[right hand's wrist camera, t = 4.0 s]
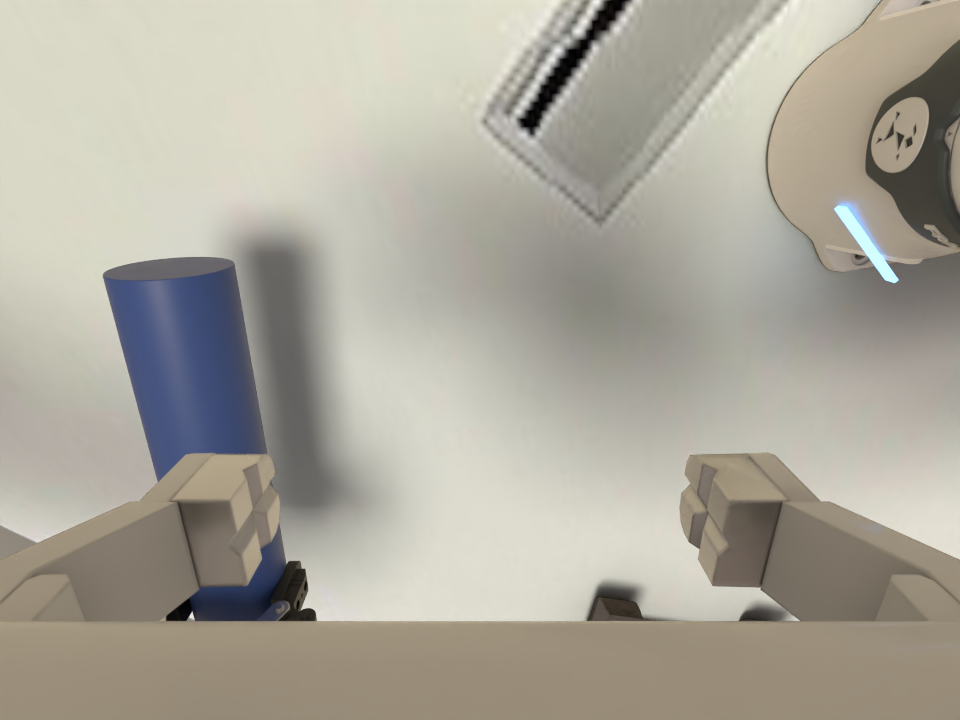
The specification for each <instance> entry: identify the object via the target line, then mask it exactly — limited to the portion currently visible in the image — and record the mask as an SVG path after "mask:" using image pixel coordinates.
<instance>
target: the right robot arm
mask: <svg viewBox="0 0 960 720" xmlns="http://www.w3.org/2000/svg"><path fill="white" fill-rule="evenodd" d="M920 5H921V6H920ZM768 175H769V181H770V186H771V189H772V192H773V195H774V198H775V200H776V202H777V204H778V206H779V207H780V209H781V211H782V212H783V213H784V215H785V216H786V217H787V218H788V220H789V221H790V222H791V223H792V224H794V225H795V226H796V227H797V228H799V229H800V230H801V231H802V232H804V233H805V234H806V235H807V236H808V237H809V238H810V239H811V240H812V241H813V243H814V246H815V249H816V251H817V253H818V256H819V258H820V260H821V262H822V263H823V265H824V266H825V267H826V268H827V269H829V270H832V271H838V272H847V271H853V270H858V269H863V268H869V267H874V266H875V267H876V268H877V269H878V271H879V272H880V274H881V275H882V276H883V278H884V279H885V280H886V281H890V282H893V283H895V282H897V281H898V278H897V277H896V275H895V274H894V273H893V271H892V270H891V268H890V267H889V266H888V264H890V263H896V262H900V263H905V264H919V263H921V261H922V260H923V259H927V258H935V257H940V256H945V255H949V254H953V253H958V252H960V0H882V1H881V3H880V4H879V5H878V6H877V7H876V9H875V10H874V11H873V12H872V14H871V15H870V16H869V17H868V19H867V20H866V21H865V23H864V24H863V25H862V26H861V27H860V28H859V29H858V30H856V31H855V32H854V33H852V34H851V35H850V36H848V37H847V38H845V39H843V40H842V41H840V42H839V43H837V44H836V45H834V46H833V47H831V48H830V49H829V50H827V51H826V52H825V53H823V54H822V55H821V56H820V57H819V58H817V59H816V60H815V61H814V62H813V63H812V64H811V65H810V66H809V67H808V68H807V69H806V70H805V71H804V73H803V74H802V75H801V76H800V77H799V79H798V80H797V81H796V83H795V84H794V85H793V87H792V88H791V90H790V92H789V93H788V95H787V96H786V98H785V100H784V102H783V104H782V106H781V108H780V110H779V112H778V115H777V117H776V120H775V123H774V126H773V129H772V133H771V137H770V142H769V149H768ZM855 254H858V256H857V257H855ZM274 475H275V470H274V465H273V460H272V458H271V457H270V456H269V455H268V454H234V453H217V454H216V453H191V454H186V455H185V456H184V457H183V458H182V459H181V460H180V461H179V462H178V463H177V464H176V465H175V466H174V467H173V468H172V469H171V470H170V471H169V472H168V473H167V474H166V475H165V476H164V477H163V478H162V479H161V480H160V481H159V482H158V483H157V484H156V485H155V486H154V487H153V488H152V489H151V490H150V491H149V492H148V493H147V494H146V495H145V496H144V497H143V498H142V499H141V500H140V501H139V502H128V503H126V504H124V505H122V506H120V507H117V508H115V509H113V510H111V511H108V512H106V513H104V514H102V515H99V516H97V517H95V518H93V519H90V520H88V521H86V522H84V523H81V524H79V525H77V526H75V527H72V528H70V529H68V530H66V531H63V532H61V533H59V534H57V535H55V536H52V537H50V538H48V539H46V540H43V541H41V542H39V543H37V544H34V545H32V546H30V547H28V548H25V549H23V550H21V551H19V552H16V553H14V554H12V555H10V556H7V557H5V558H3V559H1V560H0V720H960V560H959V559H957V558H954V557H952V556H950V555H948V554H946V553H943V552H941V551H939V550H937V549H934V548H932V547H930V546H928V545H925V544H923V543H921V542H919V541H916V540H914V539H912V538H910V537H908V536H905V535H903V534H901V533H899V532H896V531H894V530H892V529H890V528H887V527H885V526H883V525H881V524H878V523H876V522H874V521H872V520H870V519H867V518H865V517H863V516H861V515H858V514H856V513H854V512H852V511H849V510H847V509H845V508H843V507H840V506H838V505H836V504H834V503H832V502H821V501H820V500H819V499H818V498H817V497H816V496H815V495H814V494H813V493H812V492H811V491H810V490H809V489H808V488H807V487H806V486H805V485H804V484H803V483H802V482H801V481H800V480H799V479H798V478H797V477H796V476H795V475H794V474H793V473H792V472H791V471H790V470H789V469H788V468H787V467H786V466H785V465H784V464H783V463H782V462H781V461H780V460H779V459H778V458H777V457H776V456H775V455H773V454H771V453H745V454H706V455H690V457H689V459H688V461H687V464H686V469H685V475H686V477H687V478H688V480H689V482H690V483H691V484H690V485H689V486H688V487H687V488H686V489H685V490H684V491H683V492H682V493H681V501H680V519H681V525H682V528H683V531H684V534H685V536H686V538H687V540H688V541H689V542H690V543H691V544H693V545H694V546H696V547H697V548H699V549H700V550H699V556H698V560H699V562H700V564H701V566H702V567H703V569H704V571H705V573H706V575H707V576H708V578H709V580H710V582H711V584H712V586H729V587H761V590H762V591H763V592H764V593H766V594H767V595H768V596H770V597H771V598H772V599H773V600H775V601H776V602H777V603H778V604H780V605H781V606H782V607H783V608H785V609H786V610H787V611H789V612H790V613H791V614H792V615H794V616H795V617H796V618H797V619H799V620H800V621H160V620H161V619H163V618H164V617H165V616H167V615H168V614H169V613H170V612H172V611H173V610H174V609H175V608H177V607H178V606H179V605H181V604H182V603H183V602H184V601H186V600H187V599H188V598H189V597H191V596H192V595H193V594H195V593H196V592H197V591H198V590H199V587H230V586H248V584H249V582H250V580H251V578H252V577H253V575H254V573H255V571H256V569H257V567H258V566H259V564H260V562H261V560H262V556H261V550H260V549H261V548H263V547H264V546H266V545H267V544H269V543H270V542H271V541H272V539H273V537H274V536H275V534H276V532H277V528H278V523H279V519H280V499H279V493H278V492H277V491H276V490H275V489H274V488H273V487H272V486H271V485H270V484H269V483H270V482H271V480H272V478H273V477H274Z"/></svg>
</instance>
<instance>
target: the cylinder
mask: <svg viewBox="0 0 960 720" xmlns="http://www.w3.org/2000/svg"><path fill="white" fill-rule="evenodd" d="M103 279H104V282H105V286H106V290H107V293H108V297H109V301H110V305H111V308H112V312H113V316H114V320H115V323H116V327H117V331H118V335H119V338H120V342H121V346H122V350H123V353H124V357H125V361H126V364H127V368H128V372H129V376H130V379H131V383H132V387H133V391H134V394H135V398H136V402H137V406H138V409H139V413H140V417H141V420H142V424H143V428H144V432H145V435H146V439H147V443H148V447H149V450H150V454H151V458H152V462H153V465H154V469H155V473H156V477H157V480H158V482H159V481H160V480H161V479H162V478H163V477H164V476H165V475H166V474H167V473H168V472H169V471H170V470H171V469H172V468H173V467H174V466H175V465H176V464H177V463H178V462H179V461H180V460H181V459H182V458H183V457H184V456H185V455H186V454H191V453H216V454H217V453H234V454H267V449H266V444H265V438H264V432H263V426H262V421H261V415H260V409H259V403H258V397H257V392H256V386H255V380H254V374H253V369H252V363H251V357H250V351H249V345H248V340H247V334H246V328H245V322H244V317H243V311H242V305H241V299H240V293H239V288H238V282H237V276H236V270H235V265H234V262H233V261H231V260H228V259H223V258H214V257H184V258H169V259H159V260H151V261H144V262H137V263H132V264H127V265H123V266H119V267H116V268H113V269H110V270H108V271H106V272H104V274H103ZM269 484H270V485H271V486H272V487H273V484H272V480H271V482H270V483H269ZM260 550H261V556H262V560H261V562H260V564H259V566H258V567H257V569H256V571H255V573H254V575H253V577H252V578H251V580H250V582H249V584H248V586H230V587H199V590H198V591H197V592H196V593H195V594H193V595H192V596H191V597H189V600H190V604H191V607H192V611H193V615H194V618H195V621H256V620H257V619H258V618H259V617H260V616H261V615H262V614H263V613H264V612H265V611H266V610H267V609H268V608H269V607H270V606H271V601H270V600H271V598H272V596H273V594H274V591H275V589H276V587H277V585H278V583H279V581H280V578H281V577H282V575H283V573H284V570H285V568H286V566H287V565H286V559H285V553H284V548H283V542H282V536H281V530H280V524H279V523H278V528H277V532H276V534H275V536H274V537H273V539H272V541H271V542H270V543H269V544H267V545H266V546H264V547H263V548H261V549H260Z"/></svg>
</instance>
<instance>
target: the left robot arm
mask: <svg viewBox="0 0 960 720" xmlns="http://www.w3.org/2000/svg"><path fill="white" fill-rule="evenodd" d="M307 592H308V584H307V577H306V571H305V569H302V568H301V562H300V561H289V562H288V563H287V566H286V568H285V570H284V573H283V575H282V577H281V578H280V581H279V583H278V585H277V587H276V589H275V591H274V594H273V596H272V598H271V600H270V601H271V606H270V607H269V608H268V609H267V610H266V611H265V612H264V613H263V614H262V615H261V616H260V617H259V618H258V619H257V620H256V621H317V618H316V612H315V611H314V610H313V609H310V608H307V609H303V610H301V608H302V605H303V603H304V600H305V597H306V595H307ZM300 610H301V611H300ZM191 612H192V607H191V604H190V600H189V598H188V599H187V600H186V601H184V602H183V603H182V604H181V605H179V606H178V607H177V608H175V609H174V610H173V611H172V612H170V613H169V614H168V615H167V616H165V617H164V618H163V619H161V620H160V621H186V620H187V619H188V617H189V616H190V614H191Z"/></svg>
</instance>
